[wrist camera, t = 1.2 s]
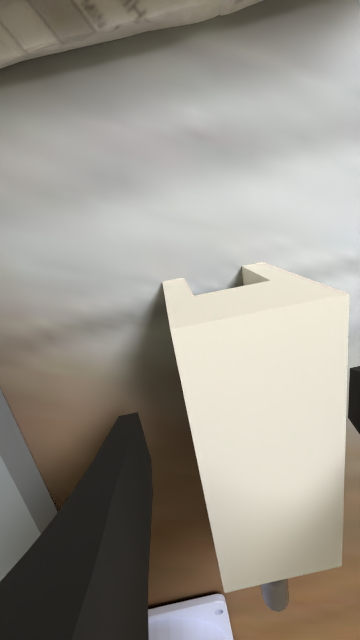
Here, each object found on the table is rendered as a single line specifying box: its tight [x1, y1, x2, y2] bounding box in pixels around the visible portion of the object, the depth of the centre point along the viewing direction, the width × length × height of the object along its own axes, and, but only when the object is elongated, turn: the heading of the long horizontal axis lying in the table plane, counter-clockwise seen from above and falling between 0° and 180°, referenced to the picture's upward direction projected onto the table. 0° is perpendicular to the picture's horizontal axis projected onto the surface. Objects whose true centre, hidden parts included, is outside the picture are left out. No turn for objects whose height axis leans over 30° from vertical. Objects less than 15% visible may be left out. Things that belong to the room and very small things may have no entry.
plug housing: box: [162, 262, 349, 612], centre depth 10 cm, size 12×4×5 cm, turn 10°
